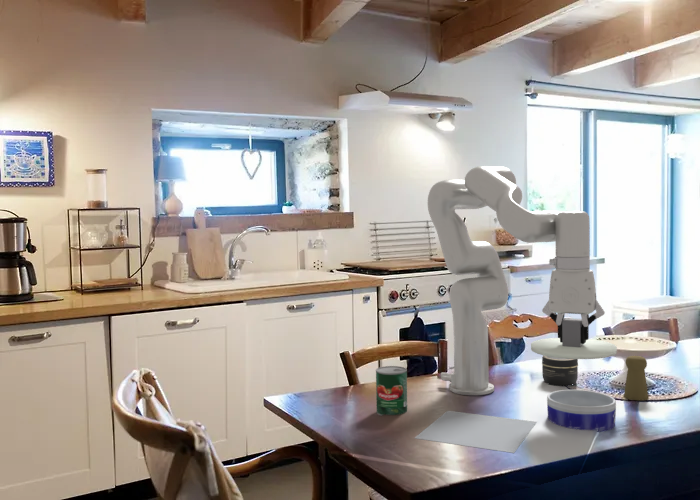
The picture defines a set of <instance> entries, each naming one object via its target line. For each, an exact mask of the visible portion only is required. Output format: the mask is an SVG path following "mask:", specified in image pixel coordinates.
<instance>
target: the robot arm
mask: <svg viewBox="0 0 700 500" xmlns="http://www.w3.org/2000/svg"><path fill="white" fill-rule="evenodd" d="M522 200H523V192H522V189H521V188H520V187H519V186H518V184H517V180H516V176H515V174H514V172H513V171H512V170H511V169H510V168H508V167H505V166H493V165H492V166H491V165H490V166H488V165H483V166H482V165H481V166H475V167H472V169H470V170H469V171H468V172H467V173H466V174H465V177H464V179H445V180H440V181H438V182H436V183H434V184H433V185H432V187H430V190H429V192H428V195H427V210H428V214H429V216H430V219H431V222H432V224H433V226H434V229H435V231H436V234H437V236H438V241H439V245H440V248H441V251H442V255H443V258H444V262H445V265H446V268H447V270H448V272H449V273H450V274H452V275H454V276H468V275H476V276H477V277H476V276H475V277H467V278H461V279H459V280H457V281H455V282H454V283H453V284H452V285H451V287H450V289H449V294H448V296H449V297H448V298H449V303H450V308H451V312H452V323H453V361H454V362H453V364H454V365H453V372H451V373H449V372H441V373H440V379H441V380H442V381H447V382H450V384H448V389H449V391H450V392H452V393H454V394H457V395H463V396H464V395H465V396H483V395H489V394H491V393H493V392H494V391H495V386H494V384H492V383H491V382H489V330H488V329H489V328H488V324H487V321H486V320H485V317H484V315H483V313H482V312H483V311H491V310H498V309H501V308H503V307H504V306H505V305H506V304H507V302H508V299H509V288H508V287H509V286H508V283H507V281H506V280H507V279H506V277H505V273H504V270H503V267H502V263H501V260H500V257H499V253H498V251H497V250H496V248H495V246H493V244H491V243H489V242H487V241H484V240H475V241H473V240H472V239H471V237H470V235H469V232H468V227H467V226H466V223H465V221H464V220H463V219H462V218H461V217H460V215H459V214H458V213H457V212H456V210H479V209H483V208H485V207H488V208H490V209H492V210H493V211H494V212H495V214H496V218H497V221H498V223H499V225H500V226H501V228H502V229H503V230H505V231H506V232H507V233H508V234H510V235H511V236H512V237H514V238H515V239H516V240H518V241H522V242H523V243H528V244H533V243H535V244H536V243H552V242H555V256H554V258H549V261H548V262H549V264H548V265H551V266H553V267H554V268H555V269H552V270H551V274H550V281H549V282H550V283H549V293H548V294H549V295H548V301H547V302H546V303H545V305H544V306H543V308H542V309H541V311H542V312H543V314H545V315H547V316H548V317H549V318H550V319H551V321H554V323H555V324H556V326H557V338H560V342H562V320H564V319H565V315H566V314H573V315H580V317H581V318H580V319H582V323H583V324H582V327H581V343H582V344H584V343H585V342H586V340H588V339H590V338H589V336H590V335H589V326H590V325H591V324H592V323H593V322H594V321H596V320H597V319H599V318H601V317H602V316H604V315H605V313H606V312H605V311H604V309H603V307H602V306H601V305H600V303H599V301H598V300H597V289H596V280H595V276H594V275H595V274H594V271H593V270H592V269H591V268H590V265H591V264H590V263H591V261H590V255H591V254H590V252H591V249H590V238H591V235H590V230H591V229H590V226H591V225H590V216H589V214H588V212H586V211H583V210H581V211H580V210H572V211H560V210H533V211H532V210H528V209H526V208H524V207H522V206H521V202H522ZM594 311H596V312H595V313H594ZM592 313H593V314H592ZM590 314H591V315H590Z"/></svg>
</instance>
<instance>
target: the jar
mask: <svg viewBox="0 0 700 500" xmlns="http://www.w3.org/2000/svg"><path fill="white" fill-rule="evenodd" d="M541 360H542V361H541V365H542V372H541V373H542V375H541V376H542V378H543V381H544V383H545V384H547V385H551V386H554V387H569V386H568V385H571V386H573V385H572V384H574V385H576V383H577V381H578V375H579V374H578V373H579V372H578V370H579V369H578V368H579V361H578V360H579V359H565V358H556V357H549V356H544V355H542V358H541Z"/></svg>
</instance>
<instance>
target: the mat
mask: <svg viewBox="0 0 700 500" xmlns="http://www.w3.org/2000/svg"><path fill="white" fill-rule="evenodd" d="M537 422H538V421H534V420H533V421H532V420H528V419H527V420H524V419H519V418H518V419H517V418H509V417H500V416H493V415H486V414H476V413H469V412H460V411H453V410H446V411H445V412H443V414H441V416H439V417H438V418H437V419H436V420H434V421H433V422H432V423H431V424H430V425H428V426H427V427H426V428H425V429H423V430H422V431H421V432H420V433H418V434H417V435H416V436H415V437H414V439H417V440H424V441H431V442H436V443H442V444H449V445H451V444H452V445H456V446H463V447H468V448H469V447H470V448H471V447H472V448H477V449H484V450H490V451H498V452H503V453H510V454H515V452H516V451H517V450H518V448H519V447H520V446H521V444H522V443H523V441H524V440H525V439H526V437H528V435H529V434H530V433H531V431H532V429H534V426H535V425H536V424H537Z"/></svg>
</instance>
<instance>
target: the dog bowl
mask: <svg viewBox="0 0 700 500" xmlns="http://www.w3.org/2000/svg"><path fill="white" fill-rule="evenodd" d="M616 401H617V400H616V399H615V398H614V397H613V396H610V395H609V394H606V393H603V392H598V391H593V390H585V389H562V390H561V389H560V390H554V391H552V392H550V393H548V394H547V396H546V405H547V408H546V409H547V419H548V420H549V421H550V422H551V423H552V424H555V425H557V426H559V427H563V428H567V429H574V430H581V431H596V433H602V432H606V431H611V430H612V429H614V428H615V426H616V416H617V415H616V411H617V407H616V406H617V402H616Z"/></svg>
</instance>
